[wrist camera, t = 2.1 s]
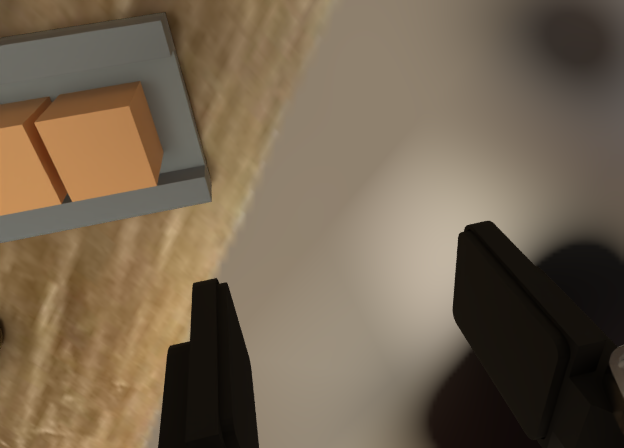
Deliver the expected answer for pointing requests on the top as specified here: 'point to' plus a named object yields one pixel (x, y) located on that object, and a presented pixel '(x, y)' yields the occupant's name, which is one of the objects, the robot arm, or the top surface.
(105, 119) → the orange cube
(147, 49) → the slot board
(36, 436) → the top surface
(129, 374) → the top surface
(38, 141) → the orange cube block
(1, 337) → the supplement bottle
